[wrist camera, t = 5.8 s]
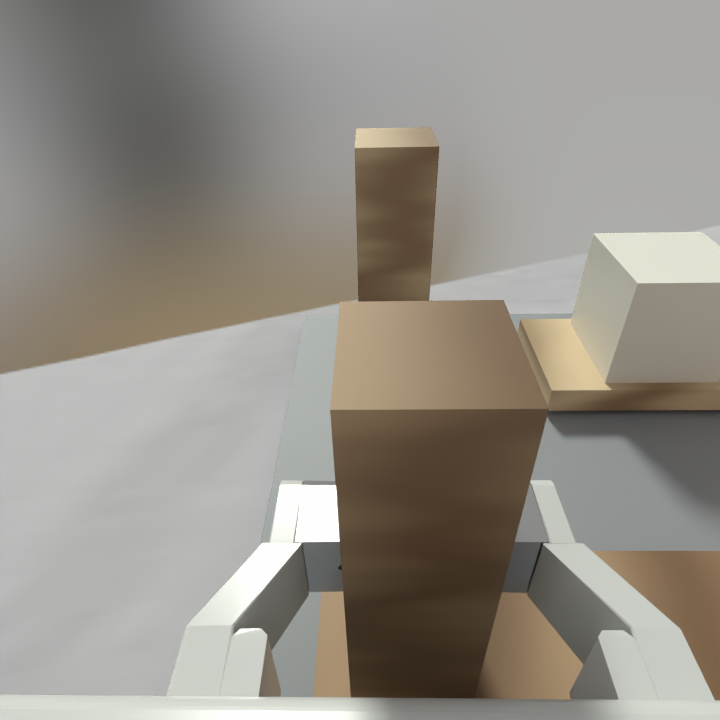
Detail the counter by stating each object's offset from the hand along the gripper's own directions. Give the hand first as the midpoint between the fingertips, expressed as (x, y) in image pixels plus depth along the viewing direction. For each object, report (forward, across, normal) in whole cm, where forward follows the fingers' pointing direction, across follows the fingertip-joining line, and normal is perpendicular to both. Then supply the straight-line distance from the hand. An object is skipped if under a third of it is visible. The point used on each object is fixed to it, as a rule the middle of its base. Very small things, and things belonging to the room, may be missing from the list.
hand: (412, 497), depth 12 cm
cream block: (+13, -12, +5) cm, 19 cm away
